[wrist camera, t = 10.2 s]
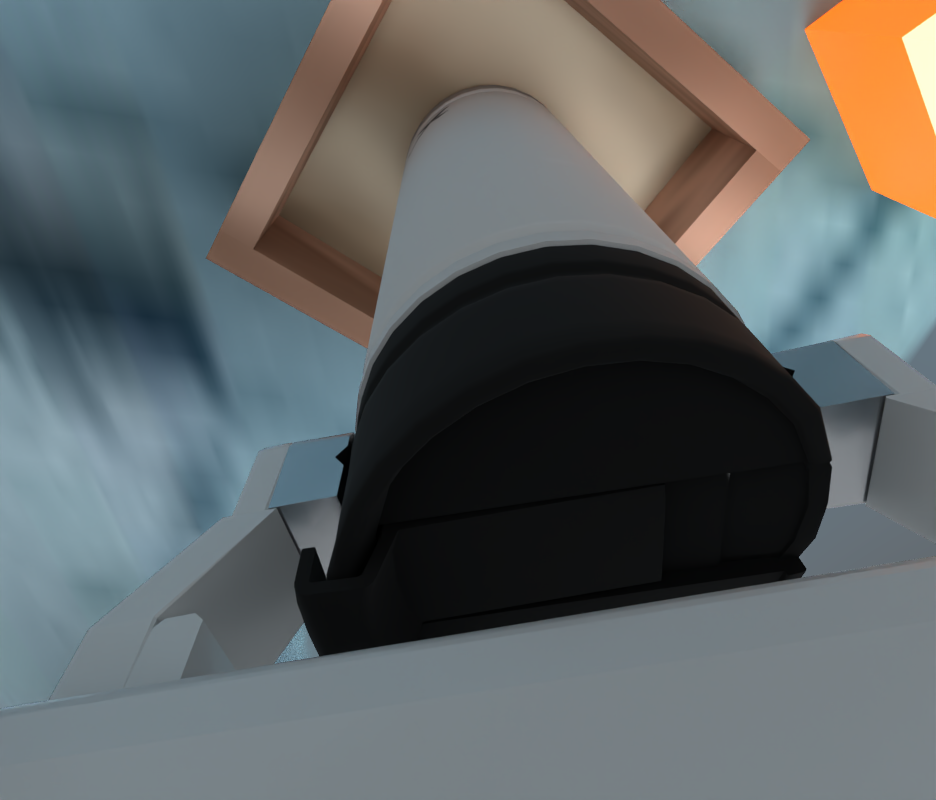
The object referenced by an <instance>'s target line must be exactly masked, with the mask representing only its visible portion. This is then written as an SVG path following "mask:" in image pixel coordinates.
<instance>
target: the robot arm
mask: <svg viewBox="0 0 936 800" xmlns="http://www.w3.org/2000/svg"><path fill="white" fill-rule="evenodd" d="M771 354H772V355H773V356H774V358H775V359H776V360H777V361H778V362H779V363H780V364H781V365H782V366H783V367H784V369H785V370H786V371H787V372H788V373H789V374H790V375H791V376H792V377H793V378H794V379H795V380H796V381H797V382H798V384H799V385H800V386H801V387H802V388H803V389H804V390H805V391H806V392H807V393H808V394H809V396H810V397H811V398H812V399H813V400H814V401H815V402H816V403H817V404H818V405H819V406H820V408H821V412H822V417H823V421H824V425H825V430H826V434H827V438H828V443H829V447H830V452H831V456H832V461H831V462H830V464H831V466H832V473H831V482H830V491H829V500H828V505H827V507H826V509H828V508H835V507H841V506H848V505H855V504H862V503H866V506H867V507H869V508H871V509H873V510H875V511H876V512H878V513H880V514H882V515H884V516H886V517H887V518H889V519H891V520H893V521H895V522H896V523H898V524H900V525H902V526H904V527H906V528H907V529H909V530H911V531H913V532H915V533H917V534H918V535H920V536H922V537H924V538H926V539H927V540H929V541H931V542H933V543H935V544H936V385H935V384H933V383H932V382H931V381H930V380H928V379H927V378H926V377H924V376H923V375H922V374H920V373H919V372H918V371H916V370H915V369H914V368H913V367H911V366H910V365H909V364H907V363H906V362H905V361H903V360H902V359H901V358H900V357H898V356H897V355H896V354H894V353H893V352H892V351H890V350H889V349H888V348H887V347H885V346H884V345H883V344H881V343H880V342H879V341H877V340H876V339H875V338H873V337H872V336H871V335H866V334H857V335H853V336H848V337H844V338H839V339H835V340H831V341H827V342H823V343H818V344H814V345H809V346H804V347H800V348H795V349H790V350H785V351H781V352H776V353H771ZM354 437H355V434H354V433H347V434H341V435H335V436H329V437H324V438H318V439H312V440H306V441H300V442H295V443H287V444H282V445H278V446H273V447H268V448H264V449H262V450H260V451H259V452H258V454H257V456H256V459H255V461H254V464H253V466H252V469H251V471H250V473H249V476H248V478H247V481H246V483H245V485H244V488H243V490H242V493H241V495H240V498H239V500H238V502H237V505H236V507H235V510H234V512H233V515H232V516H229V517H224V518H222V519H220V520H219V521H218V522H217V523H216V524H214V525H213V526H212V527H211V528H210V529H208V530H207V531H206V532H205V533H204V534H202V535H201V536H200V537H199V538H198V539H196V540H195V541H194V542H193V543H192V544H190V545H189V546H188V547H187V548H186V549H184V550H183V551H182V552H181V553H180V554H178V555H177V556H176V557H175V558H174V559H172V560H171V561H170V562H169V563H168V564H166V565H165V566H164V567H163V568H161V569H160V570H159V571H158V572H157V573H155V574H154V575H153V576H152V577H151V578H149V579H148V580H147V581H146V582H145V583H143V584H142V585H141V586H140V587H139V588H137V589H136V590H135V591H134V592H133V593H131V594H130V595H129V596H128V597H127V598H125V599H124V600H123V601H122V602H121V603H119V604H118V605H117V606H116V607H115V608H113V609H112V610H111V611H110V612H109V613H107V614H106V615H105V616H104V617H103V618H101V619H100V620H99V621H98V622H97V623H95V624H94V625H93V626H92V627H91V628H89V630H88V631H87V633H86V635H85V637H84V638H83V640H82V642H81V644H80V645H79V647H78V649H77V651H76V653H75V654H74V656H73V658H72V660H71V661H70V663H69V665H68V667H67V668H66V670H65V672H64V674H63V676H62V677H61V679H60V681H59V683H58V684H57V686H56V688H55V690H54V691H53V693H52V695H51V697H50V698H49V700H48V701H43V702H37V703H31V704H24V705H18V706H12V707H6V708H0V800H936V556H932V557H926V558H920V559H914V560H908V561H902V562H895V563H889V564H883V565H877V566H871V567H865V568H859V569H852V570H846V571H840V572H834V573H828V574H821V575H816V576H810V577H803V578H797V579H790V580H784V581H778V582H772V583H766V584H760V585H753V586H747V587H741V588H735V589H729V590H723V591H716V592H710V593H704V594H698V595H692V596H686V597H680V598H674V599H668V600H662V601H656V602H649V603H643V604H637V605H631V606H625V607H619V608H613V609H607V610H601V611H595V612H589V613H583V614H577V615H570V616H564V617H558V618H552V619H546V620H540V621H534V622H528V623H522V624H516V625H510V626H504V627H498V628H491V629H485V630H479V631H473V632H467V633H461V634H455V635H449V636H443V637H436V638H430V639H424V640H418V641H412V642H406V643H399V644H393V645H387V646H381V647H375V648H369V649H363V650H356V651H350V652H344V653H338V654H332V655H326V656H320V657H314V658H307V659H301V660H295V661H289V662H283V663H277V664H274V663H275V661H276V660H277V659H278V657H279V656H280V655H281V653H282V652H283V651H284V649H285V648H286V646H287V645H288V644H289V642H290V641H291V640H292V638H293V637H294V635H295V634H296V633H297V631H298V630H299V629H300V627H301V626H302V624H303V623H304V621H303V618H302V615H301V613H300V610H299V607H298V605H297V600H296V593H295V588H294V581H295V577H296V572H297V568H298V564H299V559H300V555H301V550H302V549H304V548H310V547H315V548H316V551H317V554H318V556H319V559H320V562H321V564H322V567H323V570H324V572H325V575H326V574H327V571H328V567H329V563H330V559H331V556H332V552H333V548H334V544H335V541H336V535H337V529H338V523H339V517H340V512H341V507H342V502H343V497H344V492H345V487H346V482H347V477H348V472H349V465H350V458H351V451H352V445H353V440H354ZM326 578H327V576H326Z"/></svg>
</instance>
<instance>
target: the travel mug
mask: <svg viewBox="0 0 936 800" xmlns="http://www.w3.org/2000/svg"><path fill="white" fill-rule="evenodd" d="M355 431H356V434H355V437H354V440H353V445H352V451H351V458H350V465H349V472H348V477H347V482H346V487H345V492H344V497H343V502H342V507H341V512H340V517H339V523H338V529H337V535H336V541H335V544H334V548H333V552H332V556H331V559H330V563H329V567H328V571H327V574H326V575H325V572H324V570H323V567H322V564H321V562H320V559H319V556H318V554H317V551H316V548H315V547H310V548H304V549H302V550H301V555H300V559H299V564H298V568H297V572H296V577H295V581H294V588H295V593H296V600H297V605H298V607H299V610H300V613H301V615H302V618H303V621H304V623H305V626H306V628H307V631H308V633H309V636H310V638H311V640H312V642H313V644H314V646H315V648H316V650H317V652H318V654H319V657H320V656H326V655H332V654H338V653H344V652H350V651H356V650H363V649H369V648H375V647H381V646H387V645H393V644H399V643H406V642H412V641H418V640H424V639H430V638H436V637H443V636H449V635H455V634H461V633H467V632H473V631H479V630H485V629H491V628H498V627H504V626H510V625H516V624H522V623H528V622H534V621H540V620H546V619H552V618H558V617H564V616H570V615H577V614H583V613H589V612H595V611H601V610H607V609H613V608H619V607H625V606H631V605H637V604H643V603H649V602H656V601H662V600H668V599H674V598H680V597H686V596H692V595H698V594H704V593H710V592H716V591H723V590H729V589H735V588H741V587H747V586H753V585H760V584H766V583H772V582H778V581H784V580H790V579H797V578H801V577H802V575H803V574H804V573H805V571H806V568H805V566H804V565H803V563H802V562H801V560H800V559H799V556H800V555H801V554H802V553H803V551H804V550H805V549H806V548H807V547H808V546H809V545H810V543H811V542H812V541H813V540H814V539H815V538H816V535H817V532H818V529H819V527H820V524H821V521H822V518H823V516H824V513H825V510H826V507H827V505H828V500H829V491H830V482H831V473H832V466H831V464H830V462H831V461H832V456H831V452H830V447H829V443H828V438H827V434H826V430H825V425H824V421H823V417H822V412H821V408H820V406H819V405H818V404H817V403H816V402H815V401H814V400H813V399H812V398H811V397H810V396H809V394H808V393H807V392H806V391H805V390H804V389H803V388H802V387H801V386H800V385H799V384H798V382H797V381H796V380H795V379H794V378H793V377H792V376H791V375H790V374H789V373H788V372H787V371H786V370H785V369H784V367H783V366H782V365H781V364H780V363H779V362H778V361H777V360H776V359H775V358H774V356H773V355H772V354H771V353H770V352H769V351H768V350H767V349H766V348H765V347H764V346H763V345H762V343H761V342H760V341H759V340H758V339H757V338H756V337H755V336H754V335H753V334H752V333H751V331H750V330H749V329H748V328H747V327H746V326H745V324H744V322H743V320H742V318H741V317H740V315H739V313H738V311H737V310H736V309H735V308H734V307H733V306H732V305H731V303H730V302H729V301H728V300H727V299H726V298H725V297H724V296H723V295H722V294H721V292H720V291H719V290H718V289H717V288H716V287H715V286H714V285H713V284H712V283H711V282H710V281H709V279H708V278H707V277H706V276H705V275H704V274H703V273H702V272H701V271H700V270H699V269H698V268H697V267H696V266H695V265H694V264H693V263H692V261H691V260H690V259H689V258H688V257H687V256H686V255H685V254H684V253H683V252H682V251H681V250H680V249H679V248H678V247H677V246H676V244H675V243H674V242H673V241H672V240H671V239H670V238H669V237H668V236H667V235H666V234H665V233H664V232H663V231H662V230H661V229H660V228H659V226H658V225H657V224H656V223H655V222H654V221H653V220H652V219H651V218H650V217H649V216H648V215H647V214H646V213H645V212H644V211H643V210H642V208H641V207H640V206H639V205H638V204H637V203H636V202H635V201H634V200H633V199H632V198H631V197H630V196H629V195H628V194H627V193H626V191H625V190H624V189H623V188H622V187H621V186H620V185H619V184H618V183H617V182H616V181H615V180H614V179H613V178H612V177H611V176H610V175H609V173H608V172H607V171H606V170H605V169H604V168H603V167H602V166H601V165H600V164H599V163H598V162H597V161H596V160H595V159H594V158H593V157H592V155H591V154H590V153H589V152H588V151H587V150H586V149H585V148H584V147H583V146H582V145H581V144H580V143H579V142H578V141H577V140H576V138H575V137H574V136H573V135H572V134H571V133H570V132H569V131H568V130H567V129H566V128H565V127H564V126H563V125H562V124H561V123H560V122H559V120H558V119H557V118H556V117H555V116H554V115H553V114H552V113H551V112H550V111H549V110H548V109H547V108H546V107H545V106H544V105H543V104H542V103H541V102H539V101H538V100H536V99H535V98H533V97H532V96H531V95H529V94H527V93H524V92H522V91H520V90H517V89H515V88H511V87H506V86H500V85H479V86H475V87H471V88H467V89H463V90H461V91H459V92H457V93H455V94H453V95H451V96H449V97H447V98H445V99H444V100H443V101H441V102H440V103H439V104H438V105H436V106H435V107H434V108H433V109H431V111H430V112H429V113H428V114H427V116H426V117H425V118H424V119H423V120H422V122H421V123H420V125H419V126H418V128H417V130H416V132H415V134H414V136H413V138H412V140H411V143H410V147H409V150H408V153H407V157H406V162H405V167H404V172H403V176H402V181H401V186H400V191H399V196H398V201H397V206H396V211H395V216H394V221H393V226H392V231H391V236H390V241H389V246H388V250H387V255H386V260H385V265H384V270H383V275H382V280H381V285H380V290H379V295H378V300H377V305H376V310H375V315H374V320H373V324H372V329H371V334H370V339H369V344H368V349H367V354H366V359H365V364H364V371H363V378H362V381H361V384H360V389H359V394H358V402H357V414H356V426H355ZM326 576H327V578H326Z"/></svg>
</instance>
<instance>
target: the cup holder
mask: <svg viewBox="0 0 936 800" xmlns="http://www.w3.org/2000/svg"><path fill="white" fill-rule="evenodd" d="M479 85H500V86H506V87H511V88H515V89H517V90H520V91H522V92H524V93H527V94H529V95H531V96H532V97H533V98H535V99H536V100H538V101H539V102H541V103H542V104H543V105H544V106H545V107H546V108H547V109H548V110H549V111H550V112H551V113H552V114H553V115H554V116H555V117H556V118H557V119H558V120H559V122H560V123H561V124H562V125H563V126H564V127H565V128H566V129H567V130H568V131H569V132H570V133H571V134H572V135H573V136H574V137H575V138H576V140H577V141H578V142H579V143H580V144H581V145H582V146H583V147H584V148H585V149H586V150H587V151H588V152H589V153H590V154H591V155H592V157H593V158H594V159H595V160H596V161H597V162H598V163H599V164H600V165H601V166H602V167H603V168H604V169H605V170H606V171H607V172H608V173H609V175H610V176H611V177H612V178H613V179H614V180H615V181H616V182H617V183H618V184H619V185H620V186H621V187H622V188H623V189H624V190H625V191H626V193H627V194H628V195H629V196H630V197H631V198H632V199H633V200H634V201H635V202H636V203H637V204H638V205H639V206H640V207H641V208H642V210H643V211H644V212H645V213H646V214H647V215H648V216H649V217H650V218H651V219H652V220H653V221H654V222H655V223H656V224H657V225H658V226H659V228H660V229H661V230H662V231H663V232H664V233H665V234H666V235H667V236H668V237H669V238H670V239H671V240H672V241H673V242H674V243H675V244H676V246H677V247H678V248H679V249H680V250H681V251H682V252H683V253H684V254H685V255H686V256H687V257H688V258H689V259H690V260H691V261H692V263H693V264H694V265H695V266H696V265H697V264H698V263H699V262H700V261H701V260H702V259H703V258H704V257H705V255H706V254H707V253H708V252H709V251H710V250H711V249H712V248H713V247H714V246H715V244H716V243H717V242H718V241H719V240H720V239H721V238H722V237H723V236H724V235H725V233H726V232H727V231H728V230H729V229H730V228H731V227H732V226H733V225H734V223H735V222H736V221H737V220H738V219H739V218H740V217H741V216H742V215H743V214H744V212H745V211H746V210H747V209H748V208H749V207H750V206H751V205H752V204H753V202H754V201H755V200H756V199H757V198H758V197H759V196H760V195H761V194H762V193H763V191H764V190H765V189H766V188H767V187H768V186H769V185H770V184H771V183H772V181H773V180H774V179H775V178H776V177H777V176H778V175H779V174H780V173H781V172H782V170H783V169H784V168H785V167H786V166H787V165H788V164H789V163H790V162H791V160H792V159H793V158H794V157H795V156H796V155H797V154H798V153H799V152H800V151H801V149H802V148H803V147H804V146H805V145H806V144H807V143H808V142H809V141H810V139H809V138H808V137H807V136H806V135H805V134H804V133H803V132H802V131H801V130H799V129H798V128H797V127H796V126H795V125H794V124H793V123H792V122H791V121H790V120H789V119H788V118H787V117H785V116H784V115H783V114H782V113H781V112H780V111H779V110H778V109H777V108H776V107H775V106H774V105H773V104H771V103H770V102H769V101H768V100H767V99H766V98H765V97H764V96H763V95H762V94H761V93H760V92H758V91H757V90H756V89H755V88H754V87H753V86H752V85H751V84H750V83H749V82H748V81H747V80H746V79H744V78H743V77H742V76H741V75H740V74H739V73H738V72H737V71H736V70H735V69H734V68H733V67H732V66H730V65H729V64H728V63H727V62H726V61H725V60H724V59H723V58H722V57H721V56H720V55H719V54H718V53H716V52H715V51H714V50H713V49H712V48H711V47H710V46H709V45H708V44H707V43H706V42H705V41H704V40H702V39H701V38H700V37H699V36H698V35H697V34H696V33H695V32H694V31H693V30H692V29H691V28H690V27H688V26H687V25H686V24H685V23H684V22H683V21H682V20H681V19H680V18H679V17H678V16H677V15H675V14H674V13H673V12H672V11H671V10H670V9H669V8H668V7H667V6H666V5H665V4H664V3H663V2H661V1H660V0H331V1H330V3H329V5H328V7H327V9H326V11H325V13H324V15H323V17H322V19H321V22H320V24H319V26H318V28H317V30H316V32H315V34H314V36H313V38H312V40H311V42H310V44H309V46H308V48H307V50H306V53H305V55H304V57H303V59H302V61H301V63H300V65H299V67H298V69H297V71H296V73H295V75H294V77H293V79H292V81H291V83H290V86H289V88H288V90H287V92H286V94H285V96H284V98H283V100H282V102H281V104H280V106H279V108H278V110H277V112H276V114H275V117H274V119H273V121H272V123H271V125H270V127H269V129H268V131H267V133H266V135H265V137H264V139H263V141H262V143H261V145H260V147H259V150H258V152H257V154H256V156H255V158H254V160H253V162H252V164H251V166H250V168H249V170H248V172H247V174H246V176H245V178H244V181H243V183H242V185H241V187H240V189H239V191H238V193H237V195H236V197H235V199H234V201H233V203H232V205H231V207H230V209H229V211H228V214H227V216H226V218H225V220H224V222H223V224H222V226H221V228H220V230H219V232H218V234H217V236H216V238H215V240H214V242H213V245H212V247H211V249H210V251H209V253H208V255H207V257H206V259H208V260H210V261H211V262H213V263H215V264H217V265H219V266H220V267H222V268H224V269H226V270H228V271H229V272H231V273H233V274H235V275H237V276H238V277H240V278H242V279H244V280H245V281H247V282H249V283H251V284H253V285H254V286H256V287H258V288H260V289H262V290H263V291H265V292H267V293H269V294H271V295H272V296H274V297H276V298H278V299H279V300H281V301H283V302H285V303H287V304H288V305H290V306H292V307H294V308H296V309H297V310H299V311H301V312H303V313H305V314H306V315H308V316H310V317H312V318H313V319H315V320H317V321H319V322H321V323H322V324H324V325H326V326H328V327H330V328H331V329H333V330H335V331H337V332H339V333H340V334H342V335H344V336H346V337H347V338H349V339H351V340H353V341H355V342H356V343H358V344H360V345H362V346H364V347H365V348H367V349H368V344H369V339H370V334H371V329H372V324H373V320H374V315H375V310H376V305H377V300H378V295H379V290H380V285H381V280H382V275H383V270H384V265H385V260H386V255H387V250H388V246H389V241H390V236H391V231H392V226H393V221H394V216H395V211H396V206H397V201H398V196H399V191H400V186H401V181H402V176H403V172H404V167H405V162H406V157H407V153H408V150H409V147H410V143H411V140H412V138H413V136H414V134H415V132H416V130H417V128H418V126H419V125H420V123H421V122H422V120H423V119H424V118H425V117H426V116H427V114H428V113H429V112H430V111H431V109H433V108H434V107H435V106H436V105H438V104H439V103H440V102H441V101H443V100H444V99H445V98H447V97H449V96H451V95H453V94H455V93H457V92H459V91H461V90H463V89H467V88H471V87H475V86H479Z"/></svg>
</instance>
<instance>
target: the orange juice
mask: <svg viewBox="0 0 936 800" xmlns="http://www.w3.org/2000/svg"><path fill="white" fill-rule="evenodd" d="M804 30H805V32H806V34H807V37H808V39H809V41H810V44H811V46H812V49H813V51H814V53H815V56H816V58H817V61H818V63H819V65H820V68H821V70H822V72H823V75H824V77H825V80H826V82H827V84H828V87H829V89H830V92H831V94H832V96H833V99H834V101H835V103H836V106H837V108H838V111H839V113H840V115H841V118H842V120H843V122H844V125H845V127H846V130H847V132H848V134H849V137H850V139H851V142H852V144H853V146H854V149H855V151H856V153H857V156H858V158H859V161H860V163H861V165H862V168H863V170H864V173H865V175H866V177H867V180H868V182H869V184H870V187H871V189H872V190H873V191H875V192H877V193H880V194H882V195H884V196H886V197H889V198H891V199H893V200H895V201H898V202H900V203H902V204H904V205H907V206H909V207H911V208H913V209H916V210H918V211H920V212H922V213H925V214H927V215H929V216H931V217H934V218H936V0H843V1H842V2H840V3H839V4H838V5H836V6H835V7H834V8H832V9H831V10H830V11H828V12H827V13H826V14H824V15H823V16H822V17H820V18H819V19H818V20H816V21H815V22H814V23H812V24H811V25H810V26H808V27H807V28H806V29H804Z"/></svg>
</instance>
